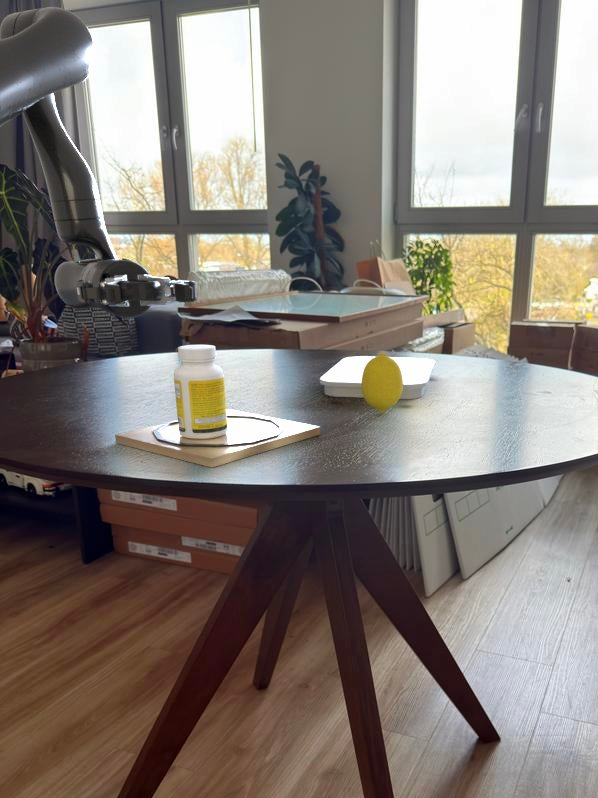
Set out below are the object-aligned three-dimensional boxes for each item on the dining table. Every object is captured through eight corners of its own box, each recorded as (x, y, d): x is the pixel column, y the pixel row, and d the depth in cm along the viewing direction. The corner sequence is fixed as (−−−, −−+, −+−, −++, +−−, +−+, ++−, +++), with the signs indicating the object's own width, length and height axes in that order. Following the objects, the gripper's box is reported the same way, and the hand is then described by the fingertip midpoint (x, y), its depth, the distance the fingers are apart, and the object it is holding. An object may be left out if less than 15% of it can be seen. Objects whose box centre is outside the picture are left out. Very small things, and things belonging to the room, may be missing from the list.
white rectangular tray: (436, 371, 129) (436, 358, 129) (425, 400, 105) (425, 385, 104) (346, 368, 131) (346, 355, 131) (316, 396, 107) (315, 381, 106)
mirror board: (211, 467, 73) (211, 456, 73) (115, 442, 82) (114, 432, 82) (320, 434, 86) (320, 424, 86) (227, 416, 95) (226, 407, 95)
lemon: (360, 417, 95) (360, 356, 92) (362, 408, 100) (362, 349, 97) (402, 417, 95) (403, 356, 92) (402, 408, 100) (403, 350, 97)
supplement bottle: (237, 431, 83) (231, 345, 80) (208, 442, 79) (201, 351, 75) (199, 426, 85) (192, 342, 82) (168, 437, 81) (160, 348, 77)
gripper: (61, 259, 96) (88, 261, 83) (167, 259, 103) (207, 261, 91) (68, 317, 99) (96, 328, 86) (171, 313, 106) (211, 323, 93)
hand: (153, 294), depth 88 cm, fingers open, 8 cm apart
